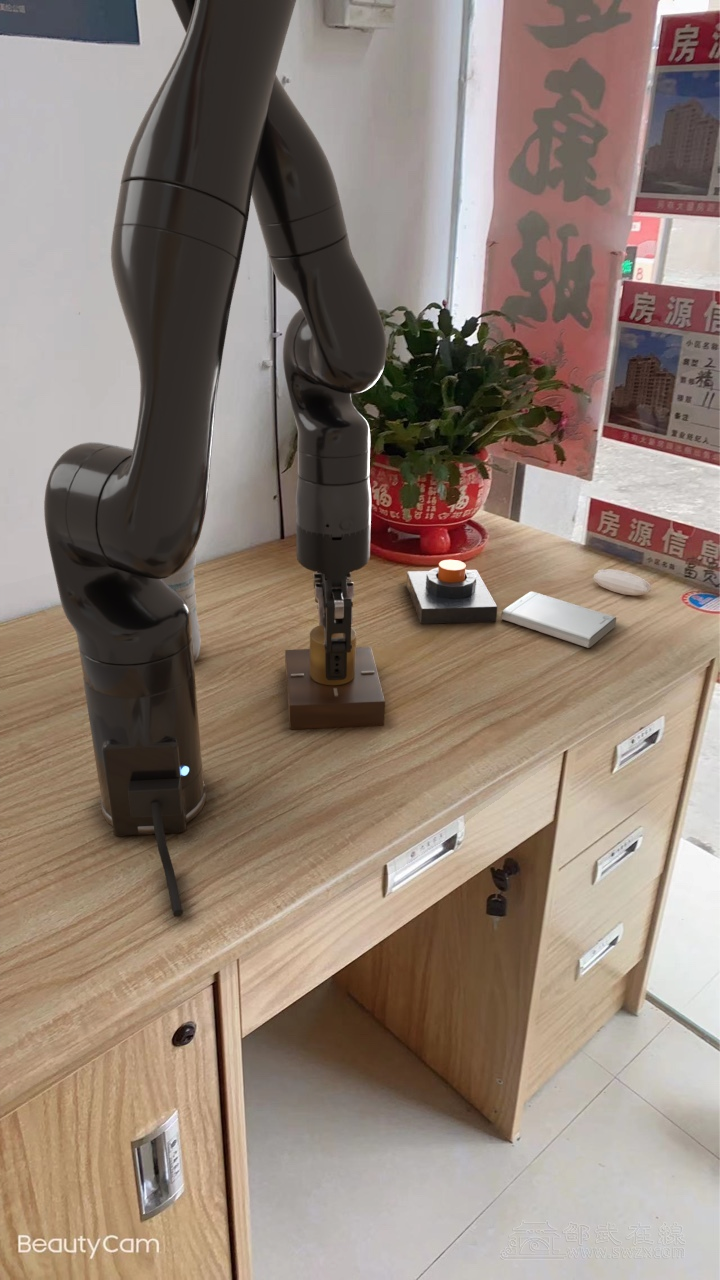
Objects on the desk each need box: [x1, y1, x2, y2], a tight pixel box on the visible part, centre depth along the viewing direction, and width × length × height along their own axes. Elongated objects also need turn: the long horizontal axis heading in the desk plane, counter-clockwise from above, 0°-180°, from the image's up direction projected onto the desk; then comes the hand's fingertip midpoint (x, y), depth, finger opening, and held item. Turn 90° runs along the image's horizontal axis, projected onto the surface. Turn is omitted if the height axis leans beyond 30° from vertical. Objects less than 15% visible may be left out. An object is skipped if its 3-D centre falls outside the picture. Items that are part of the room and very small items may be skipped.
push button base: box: [405, 566, 498, 625], centre depth 120 cm, size 12×10×4 cm
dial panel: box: [284, 646, 386, 730], centre depth 98 cm, size 12×10×3 cm
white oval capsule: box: [592, 568, 652, 596], centre depth 124 cm, size 3×8×3 cm, turn 54°
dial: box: [309, 624, 357, 685], centre depth 96 cm, size 5×5×5 cm
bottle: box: [162, 548, 202, 662], centre depth 101 cm, size 7×7×20 cm
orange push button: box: [438, 559, 467, 583], centre depth 118 cm, size 4×4×2 cm
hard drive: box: [500, 590, 617, 649], centre depth 115 cm, size 2×8×12 cm
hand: (332, 659), depth 96 cm, fingers open, 7 cm apart
